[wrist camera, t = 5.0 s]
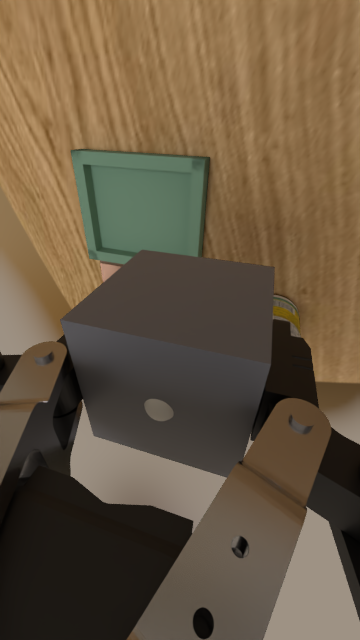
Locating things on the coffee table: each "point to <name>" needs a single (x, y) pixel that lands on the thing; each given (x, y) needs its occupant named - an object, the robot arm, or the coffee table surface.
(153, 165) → the tray
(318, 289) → the coffee table surface
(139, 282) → the die
